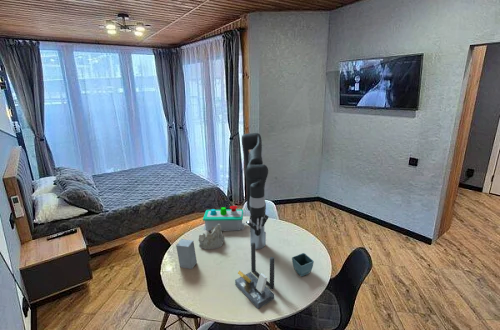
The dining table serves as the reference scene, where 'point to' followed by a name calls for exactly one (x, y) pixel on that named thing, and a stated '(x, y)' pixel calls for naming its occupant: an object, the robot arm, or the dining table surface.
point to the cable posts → (253, 266)
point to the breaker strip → (254, 291)
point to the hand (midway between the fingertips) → (257, 234)
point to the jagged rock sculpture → (211, 238)
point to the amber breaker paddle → (244, 276)
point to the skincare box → (186, 253)
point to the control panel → (224, 219)
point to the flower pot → (302, 264)
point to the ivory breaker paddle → (261, 282)
